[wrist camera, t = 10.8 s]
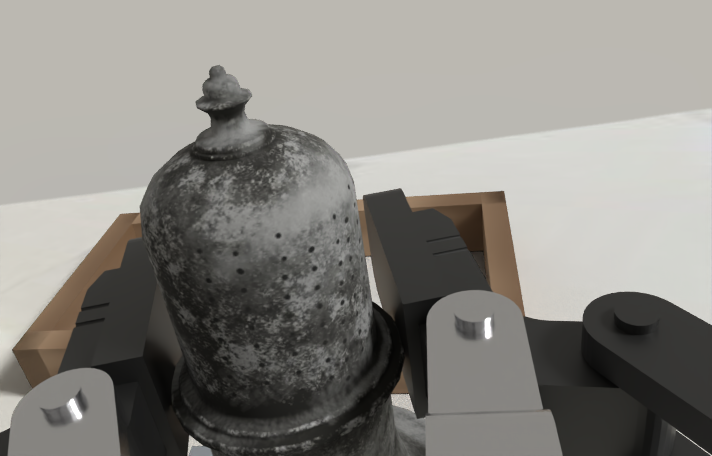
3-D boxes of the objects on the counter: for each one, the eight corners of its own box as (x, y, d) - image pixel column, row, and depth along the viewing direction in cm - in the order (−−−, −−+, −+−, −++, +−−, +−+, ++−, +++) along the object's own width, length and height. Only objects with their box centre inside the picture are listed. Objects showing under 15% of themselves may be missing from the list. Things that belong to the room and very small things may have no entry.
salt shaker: (165, 621, 14) (-99, 101, 8) (365, 461, 17) (278, -9, 11) (330, 897, 10) (48, 263, 4) (556, 624, 13) (579, 24, 7)
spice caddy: (37, 397, 25) (11, 349, 24) (135, 255, 33) (120, 214, 32) (527, 391, 22) (528, 337, 21) (504, 237, 30) (503, 191, 29)
